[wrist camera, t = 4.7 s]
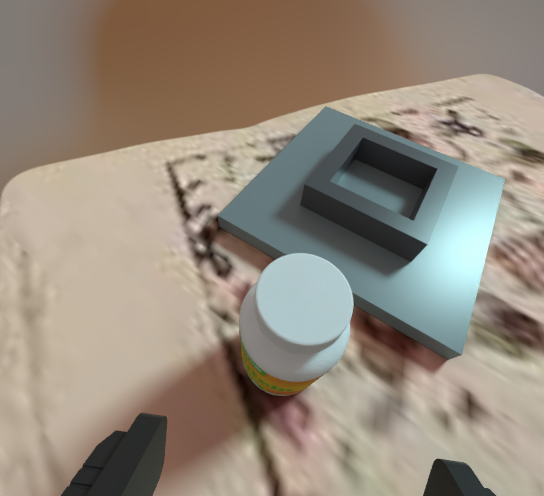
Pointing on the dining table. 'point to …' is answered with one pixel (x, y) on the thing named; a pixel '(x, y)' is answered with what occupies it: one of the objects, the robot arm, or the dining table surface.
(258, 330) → the supplement bottle
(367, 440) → the dining table surface
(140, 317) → the dining table surface
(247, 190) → the socket board
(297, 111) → the dining table surface
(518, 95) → the dining table surface
